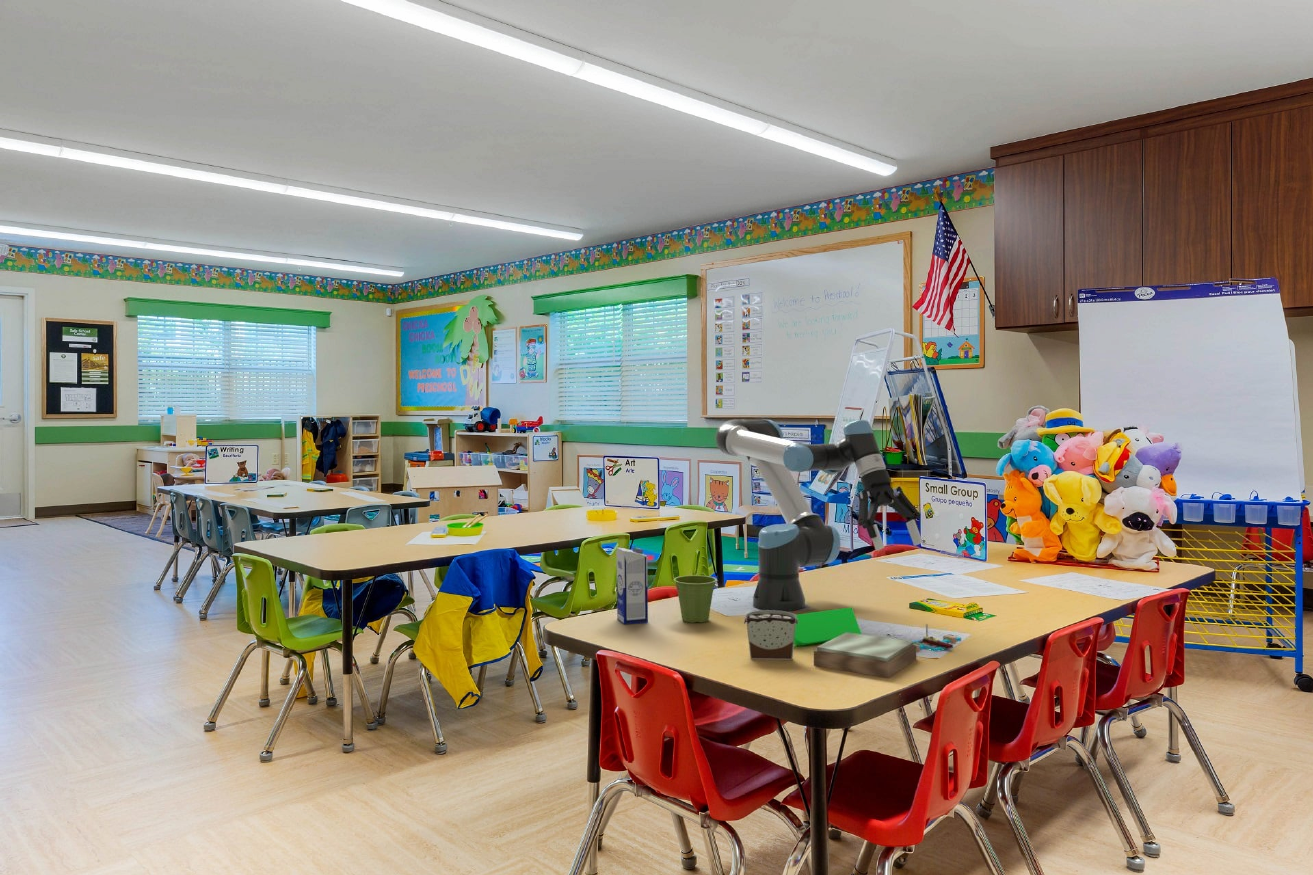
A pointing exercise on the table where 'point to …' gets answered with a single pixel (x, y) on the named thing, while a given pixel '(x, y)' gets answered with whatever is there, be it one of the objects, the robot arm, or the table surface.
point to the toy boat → (935, 642)
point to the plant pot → (695, 597)
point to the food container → (771, 634)
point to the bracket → (824, 626)
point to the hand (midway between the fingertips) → (899, 546)
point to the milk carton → (632, 586)
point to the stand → (865, 654)
